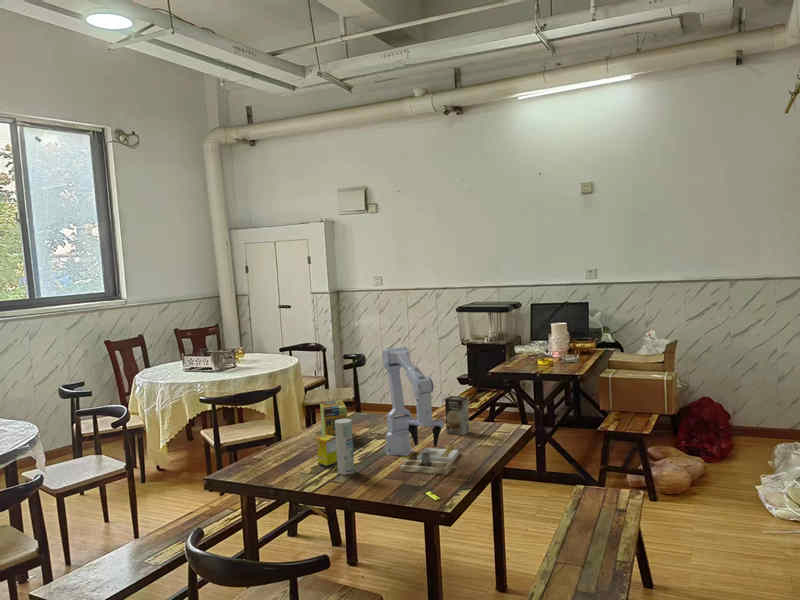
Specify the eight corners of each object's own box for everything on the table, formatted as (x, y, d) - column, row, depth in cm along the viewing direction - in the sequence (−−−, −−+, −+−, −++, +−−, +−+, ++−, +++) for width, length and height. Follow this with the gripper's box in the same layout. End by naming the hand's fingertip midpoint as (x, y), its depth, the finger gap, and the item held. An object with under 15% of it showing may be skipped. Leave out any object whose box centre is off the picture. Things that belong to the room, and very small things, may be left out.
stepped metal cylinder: (421, 470, 233) (420, 450, 232) (423, 467, 236) (422, 448, 235) (429, 470, 232) (428, 451, 231) (431, 467, 235) (430, 448, 234)
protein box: (325, 443, 275) (323, 409, 273) (321, 434, 290) (319, 401, 288) (348, 440, 277) (346, 406, 276) (343, 431, 292) (341, 399, 291)
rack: (400, 472, 233) (400, 465, 233) (406, 465, 240) (406, 459, 239) (446, 475, 227) (446, 468, 227) (451, 468, 234) (451, 462, 234)
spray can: (348, 475, 232) (345, 423, 231) (334, 473, 236) (331, 422, 234) (358, 470, 238) (354, 419, 237) (344, 468, 241) (341, 417, 240)
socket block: (417, 463, 242) (416, 456, 242) (425, 454, 253) (424, 448, 253) (451, 465, 238) (451, 458, 238) (458, 455, 248) (458, 449, 248)
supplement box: (329, 460, 251) (327, 434, 250) (338, 463, 247) (337, 436, 246) (317, 464, 247) (316, 437, 246) (327, 467, 243) (325, 440, 242)
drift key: (439, 461, 241) (439, 452, 241) (447, 452, 252) (446, 443, 252) (448, 462, 240) (448, 452, 240) (455, 453, 251) (455, 444, 250)
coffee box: (445, 433, 280) (443, 398, 279) (452, 429, 286) (450, 395, 284) (463, 435, 275) (462, 400, 274) (469, 431, 281) (468, 397, 280)
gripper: (402, 412, 232) (404, 447, 233) (439, 413, 227) (441, 449, 228) (408, 407, 238) (410, 441, 239) (444, 408, 234) (446, 443, 235)
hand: (425, 445), depth 234 cm, fingers open, 7 cm apart
